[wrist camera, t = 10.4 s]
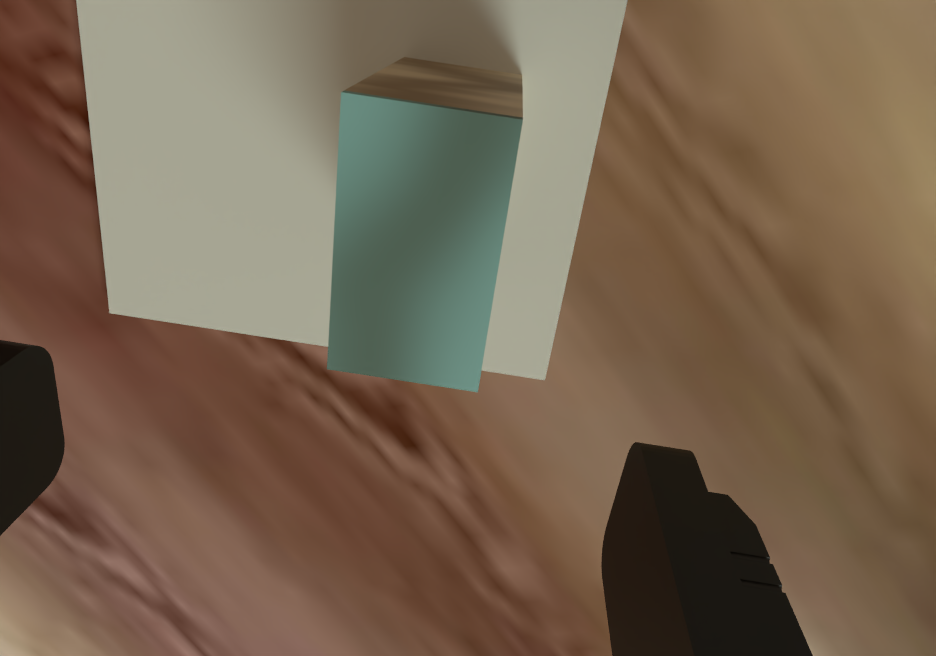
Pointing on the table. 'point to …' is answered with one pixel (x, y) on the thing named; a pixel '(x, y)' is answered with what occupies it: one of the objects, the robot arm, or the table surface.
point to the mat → (318, 150)
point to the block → (421, 219)
